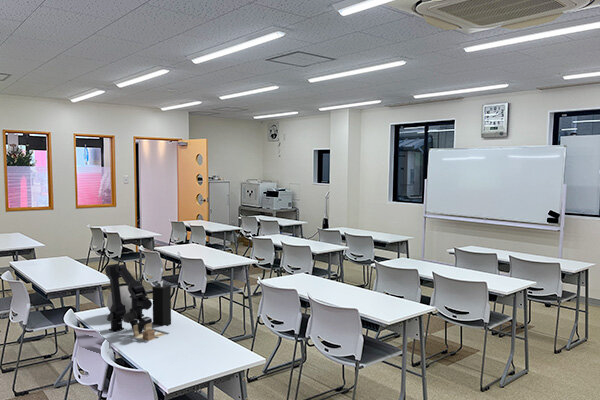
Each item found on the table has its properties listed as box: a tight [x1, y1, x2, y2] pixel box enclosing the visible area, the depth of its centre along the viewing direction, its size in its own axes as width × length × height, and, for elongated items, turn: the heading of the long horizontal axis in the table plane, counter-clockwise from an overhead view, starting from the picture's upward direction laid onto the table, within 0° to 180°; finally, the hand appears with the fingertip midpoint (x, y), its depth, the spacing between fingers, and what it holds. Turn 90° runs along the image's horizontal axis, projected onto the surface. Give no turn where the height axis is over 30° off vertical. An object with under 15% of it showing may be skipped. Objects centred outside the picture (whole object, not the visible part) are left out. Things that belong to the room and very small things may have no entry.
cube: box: [142, 329, 156, 342], centre depth 254 cm, size 4×4×4 cm
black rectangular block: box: [151, 280, 172, 327], centre depth 279 cm, size 8×8×28 cm
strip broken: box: [143, 322, 166, 338], centre depth 263 cm, size 13×5×7 cm, turn 58°
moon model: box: [106, 285, 140, 313], centre depth 296 cm, size 20×20×20 cm
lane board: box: [128, 327, 170, 343], centre depth 260 cm, size 15×16×2 cm
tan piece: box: [132, 325, 156, 342], centre depth 256 cm, size 13×5×7 cm, turn 58°
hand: (137, 333), depth 259 cm, fingers open, 4 cm apart
